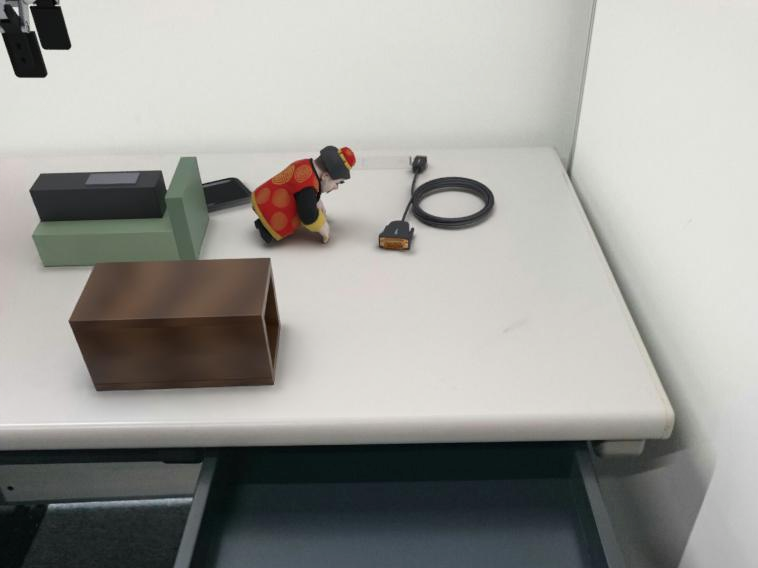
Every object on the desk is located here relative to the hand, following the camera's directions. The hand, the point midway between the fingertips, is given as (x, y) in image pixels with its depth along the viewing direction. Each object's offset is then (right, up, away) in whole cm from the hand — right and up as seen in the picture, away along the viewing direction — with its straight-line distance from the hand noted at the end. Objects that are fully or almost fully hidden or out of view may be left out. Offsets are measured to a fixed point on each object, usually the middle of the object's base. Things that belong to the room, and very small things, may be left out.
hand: (45, 62), depth 79 cm
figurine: (+26, -11, +17) cm, 33 cm away
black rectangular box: (+1, -10, +13) cm, 16 cm away
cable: (+45, -5, +22) cm, 50 cm away
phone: (+10, -5, +24) cm, 26 cm away
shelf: (+17, -32, -1) cm, 36 cm away
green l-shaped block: (+3, -13, +16) cm, 21 cm away
